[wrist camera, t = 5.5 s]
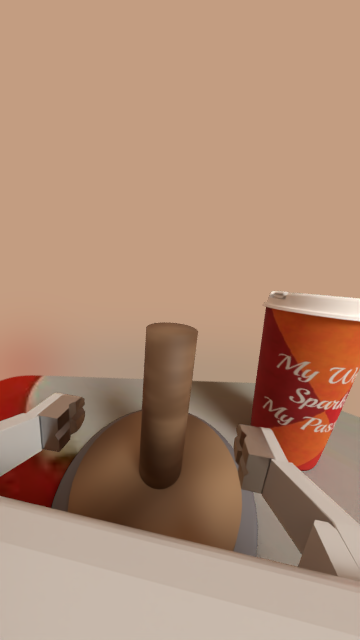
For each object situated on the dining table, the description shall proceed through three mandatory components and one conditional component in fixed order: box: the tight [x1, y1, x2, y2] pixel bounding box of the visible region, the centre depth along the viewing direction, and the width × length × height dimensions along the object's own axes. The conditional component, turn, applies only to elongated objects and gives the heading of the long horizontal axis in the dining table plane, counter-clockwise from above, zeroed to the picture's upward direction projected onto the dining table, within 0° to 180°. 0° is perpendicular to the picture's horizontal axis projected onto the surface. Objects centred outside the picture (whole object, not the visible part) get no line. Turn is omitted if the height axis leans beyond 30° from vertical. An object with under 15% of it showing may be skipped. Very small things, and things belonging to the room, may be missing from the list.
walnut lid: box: [68, 323, 242, 551], centre depth 11 cm, size 11×11×11 cm
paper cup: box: [251, 291, 360, 471], centre depth 15 cm, size 8×8×14 cm
